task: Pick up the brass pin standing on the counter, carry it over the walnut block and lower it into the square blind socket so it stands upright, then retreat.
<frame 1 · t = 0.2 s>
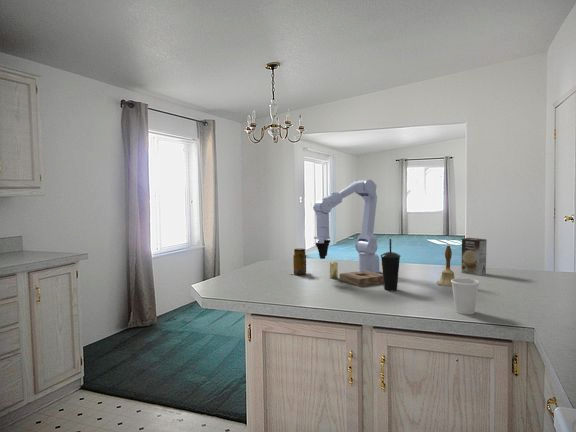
hand: (323, 257, 191), 10 cm above the countertop, tool pointing down, fingers open, 7 cm apart
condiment: (300, 274, 203), on the countertop
dixie cup: (464, 312, 136), on the countertop
drinking cup: (390, 290, 168), on the countertop
pin: (333, 278, 193), on the countertop
socket block: (362, 281, 184), on the countertop
hand bell: (447, 284, 176), on the countertop
coffee box: (473, 273, 198), on the countertop
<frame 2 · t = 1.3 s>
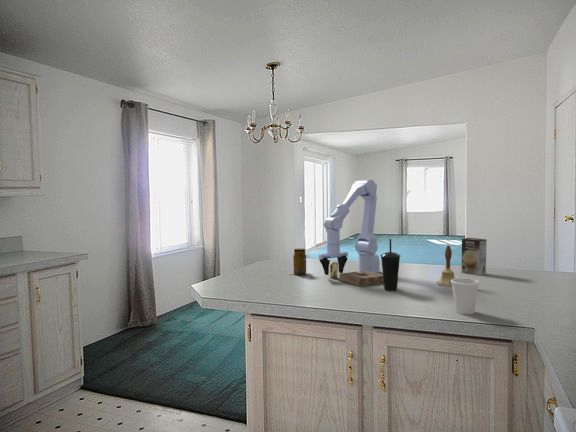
hand: (333, 273, 193), 2 cm above the countertop, tool pointing down, fingers open, 7 cm apart
nothing on the countertop moved.
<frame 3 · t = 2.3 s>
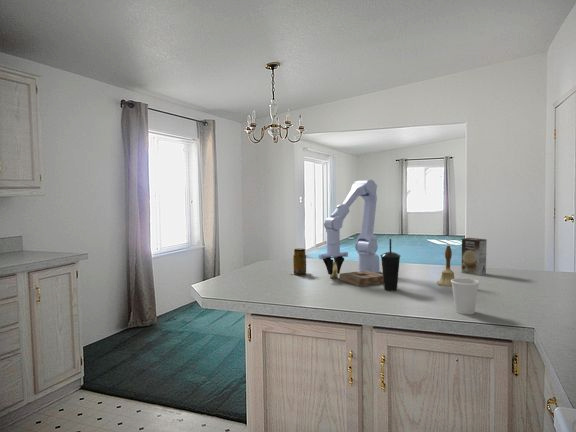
hand: (333, 273, 193), 2 cm above the countertop, tool pointing down, fingers closed on pin, 3 cm apart
pin: (333, 277, 193), on the countertop, touching gripper
everything else where it was.
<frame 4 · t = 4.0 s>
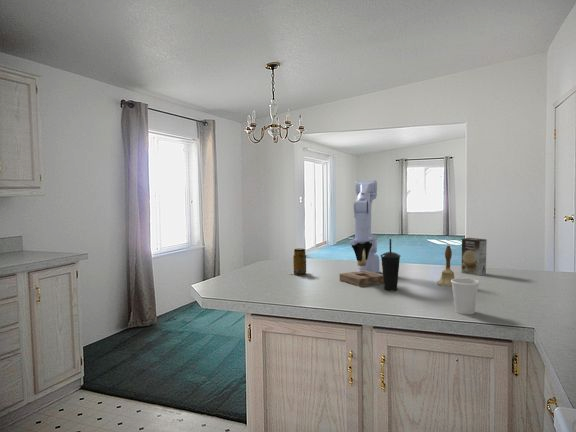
hand: (362, 260, 183), 9 cm above the countertop, tool pointing down, fingers closed on pin, 3 cm apart
pin: (361, 265, 184), point 7 cm above the countertop, touching gripper
everything else where it was.
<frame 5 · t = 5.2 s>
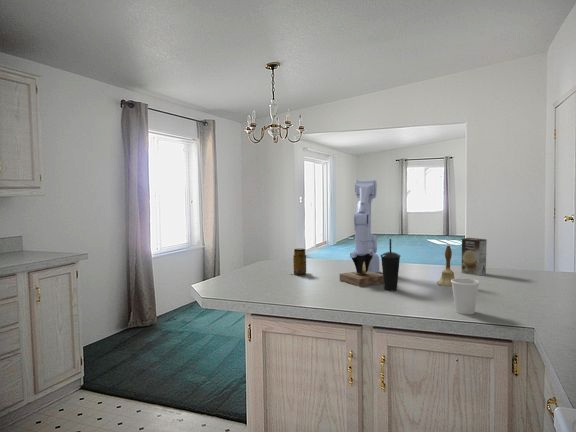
hand: (362, 272, 184), 4 cm above the countertop, tool pointing down, fingers closed on pin, 3 cm apart
pin: (361, 277, 184), point 2 cm above the countertop, touching gripper
everything else where it was.
when the fingers open (4 cm above the countertop, at t = 5.9 s): pin drops 1 cm, resting on socket block.
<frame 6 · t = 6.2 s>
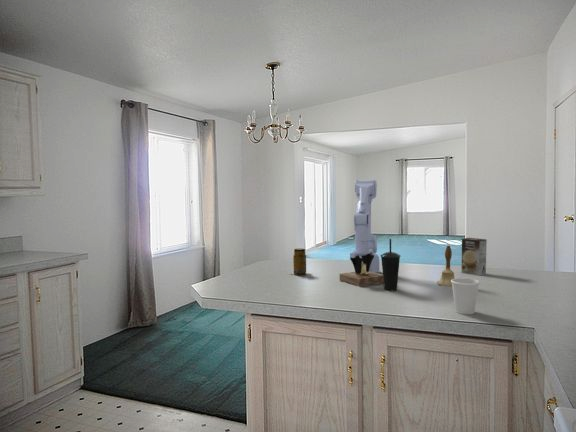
hand: (362, 272, 184), 4 cm above the countertop, tool pointing down, fingers open, 6 cm apart
pin: (361, 280, 184), point 1 cm above the countertop, touching socket block
everything else where it was.
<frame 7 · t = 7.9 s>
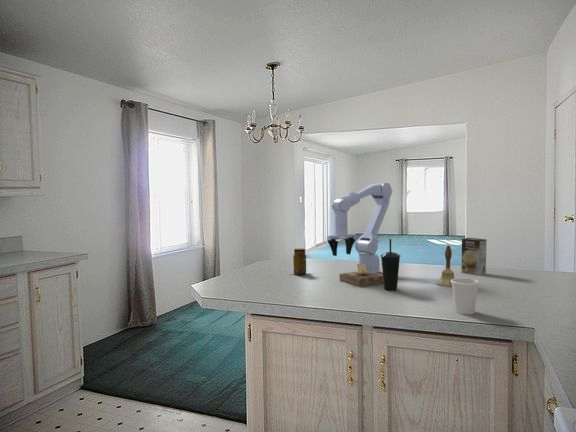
hand: (341, 254, 195), 10 cm above the countertop, tool pointing down, fingers open, 7 cm apart
nothing on the countertop moved.
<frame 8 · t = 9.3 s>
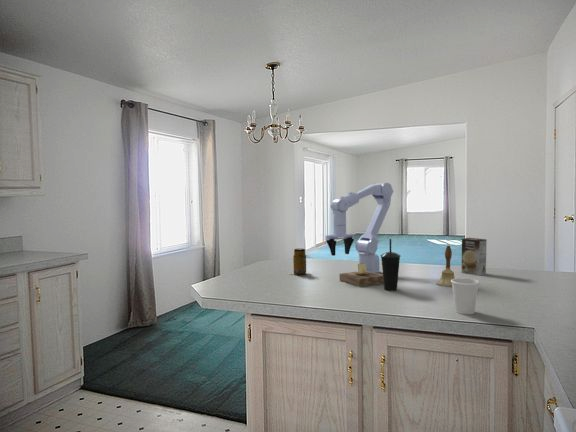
hand: (340, 254, 196), 10 cm above the countertop, tool pointing down, fingers open, 7 cm apart
nothing on the countertop moved.
at the end: pin 0.2 cm off-centre on the socket block, point 0.6 cm above the socket block's base; pin tilted 2°; the gripper is holding nothing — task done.
